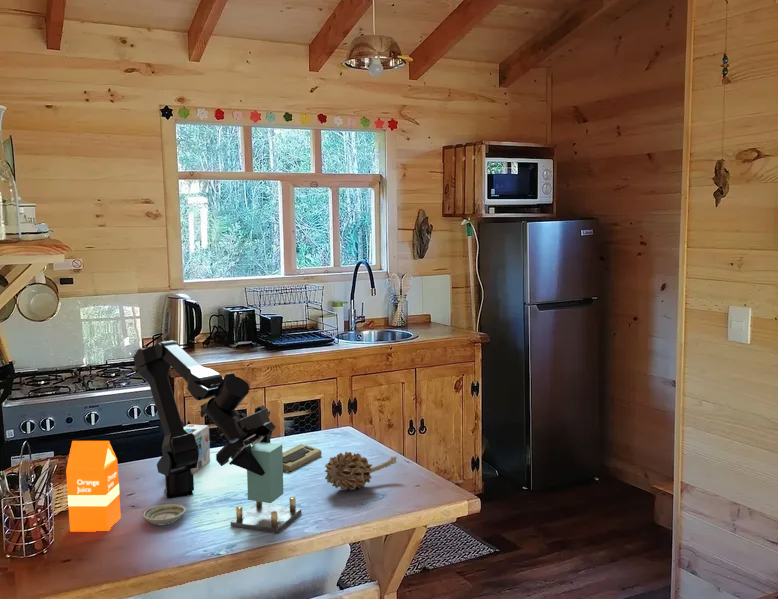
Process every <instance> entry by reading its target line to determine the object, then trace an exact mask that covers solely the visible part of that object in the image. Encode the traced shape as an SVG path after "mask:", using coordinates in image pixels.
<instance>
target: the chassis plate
mask: <svg viewBox="0 0 778 599" xmlns="http://www.w3.org/2000/svg"><path fill="white" fill-rule="evenodd" d="M296 500H297V499H296V497H295V496H290V497H289V506H285V505H280V504H279V505H278V504H272V503H265V502H259V501H255V503H254V504H253V505H252V506H250V507H249V508H247V509H246V510H245V511H243V506H241V505H240V506H236V508H235V510H236V511H235V514H236V516H235V518H233V520H231V521H230V527H231V528H235V529H241V528H242V529H243V530H249V531H256V532H261V533H262V532H263V533H267V534H269V533H270V534H274V535H278V534H279V533H280V532H282V531H283V530H284V529H286V527H287V526H288V525H290V524H291V523H292V522H294V520H296V519H297V518H298V517H299V516H300V515H301V514H302V508H301V507H297V506H296Z"/></svg>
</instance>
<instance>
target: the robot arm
mask: <svg viewBox="0 0 778 599" xmlns="http://www.w3.org/2000/svg"><path fill="white" fill-rule="evenodd" d="M133 363H134V365H135V367H136V369H137V372H138V375H139V376H140V377H142V378H143V379H144V380H145V381H146V382H147V383H148V384H149V388H150V391H151V394H152V398H153V401H154V404H155V408H156V411H157V414H158V418H159V421H160V425H161V428H162V431H163V436H164V438H163V441H162V444H161V453H162V456H161V457H160V459H159V460H158V461H157V463H156V468H157V472H158V473H159V474H161V475H164V494H165V497H166V498H165V499H167V500H172V499H179V498H183V497H191V496H193V495H194V491H195V483H194V482H195V481H194V473H192V472H191V469H193V468H197V463H198V458H199V449H198V446H197V443H196V440H195V436H194V435H193V433H190V434H189V433H187V432H186V431H185V430H184V428H183V427H184V425H183V422H182V419H181V416H180V412H179V409H178V405H177V402H176V399H175V396H174V393H173V388H172V387H171V386H172V385H171V383H170V379H169V373H170V371H171V370H170V369H171V368H172V369H173V370H174V371H175V372H176V373H177V374H178V375H179V376H180V377H181V378H182V379H183V380H184V381H185V382H186V385H187V388H186V389H187V391H188V392H189V394H190V395H191V396H192V397H193V398H194V399H195V400H196V401H203V400H208V399H209V400H208V401H207V402H205V403H203V404H202V405H200V412H199V413H200V417H201V418H204V417H205V416H207V417H208V418H209V419H210V420H211V422H212V423H213V424H214V425H215V426H216V427H217V428H218V431H217V434H218V436H219V437H221V436H223V435H224V437H225V438H226V440H228V442H226V443H225V445H224V446H222V448H221V449H220V450H218V452H217V453H216V454H215V461H216V462H217V463H218V464H219V465H220V466H221V467H222V466H224V465H226V464H229V465H231V466H232V465H234V466H235V467H239V468H242V469H244V470H246V471H247V470H249V471H251V472H253V473H256V474H258V475H260V476H263V475H264V474H265V472H264V470H263V469H262V467H261V466H260V464H259V463H258V461H257V460H256V459H255V457H254V456H253V455H252V452H251V447H252V446H253V445H255V444H257V443H258V442H266V443H271V438H272V435H273V431H275V430H276V429H277V426H275V424H274V423H273V422H272V421H271V418H270V416H271V410H269V409H268V408H267V407H266V406H265V405H263V404H262V405H260V406H257V407H255V408H254V413H251V414H249V415H247V414H246V413H245V412H243V411H242V412H240V413H239V412H238V411H237V410H236V409H238V407H239V406H240V405H241V403H242V402H243V401H244V400H245V398H246V397H247V395H249V393H250V386H249V383H248V382H247V381H246V380H244V379H243V378H242V377H239V376H236V375H235V373H234V372H229V373H226V374H225V375H224V377H223V376H222V375H221V373H219V372H217V371H215V369H212V368H209V367H204V366H202V365H200V364H199V363H198V362H197V361H196V360H195V359H194V358H193V357H192V356H191V355H190V354H188V353H187V352H186V351H185V350H184V349H183V348H182V347H180V344H179V342H178V341H177V340H166V341H161V342H160V341H159V342H158V343H155V344H154V345H151V346H149V347H141V348H139V349H138V350H136V352H135V354H134V356H133ZM230 459H231V461H230Z"/></svg>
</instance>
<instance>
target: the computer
mask: <svg viewBox="0 0 778 599" xmlns="http://www.w3.org/2000/svg"><path fill="white" fill-rule="evenodd" d="M322 453H323V452H322V450H321V449H319V448H316V447H313V446H310V445H307V444H302V443H300V444H299V445H296V446H294V447H291V448H290V449H288V450H285V451H284V452H283V451H282V454H283V470H284V471H283V472H286V471H291V472H292V470H293V471H294V469H295V470H296V468H297V469H298V468H300V467H302V466H304V465H306V464H308V463H310V462H312V461H313V459H314V460H315V459H317V458H320V457H321V456H322V455H323V454H322ZM319 456H320V457H319ZM309 461H310V462H309ZM305 463H306V464H305ZM301 465H302V466H301Z"/></svg>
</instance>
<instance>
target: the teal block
mask: <svg viewBox="0 0 778 599" xmlns="http://www.w3.org/2000/svg"><path fill="white" fill-rule="evenodd" d="M251 452H252V455H253V456H254V457H255V459H256V460H257V461H258V463H259V464H260V466H261V467H262V469H263V470H264V472H265V474H264V475H263V476H260V475H258V474H256V473H253V472H251V471H249V470H246V478H247V479H246V480H247V481H246V482H247V500H248V501H253V502H256V501H259V502H262V503H265V504H272V503H274V502H275V501H276V500H277V499H279V498H280V497H281V496H283V495H284V471H283V454H282V453H283V443H273V442H270V443H266V442H258V443H257V444H255V445H251Z"/></svg>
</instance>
